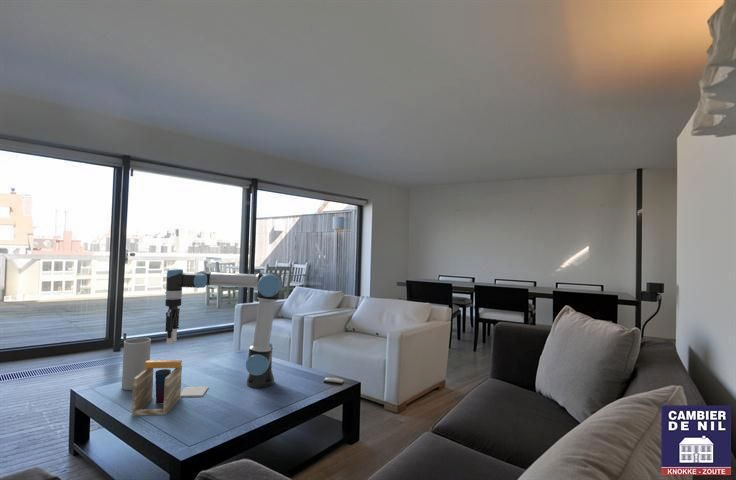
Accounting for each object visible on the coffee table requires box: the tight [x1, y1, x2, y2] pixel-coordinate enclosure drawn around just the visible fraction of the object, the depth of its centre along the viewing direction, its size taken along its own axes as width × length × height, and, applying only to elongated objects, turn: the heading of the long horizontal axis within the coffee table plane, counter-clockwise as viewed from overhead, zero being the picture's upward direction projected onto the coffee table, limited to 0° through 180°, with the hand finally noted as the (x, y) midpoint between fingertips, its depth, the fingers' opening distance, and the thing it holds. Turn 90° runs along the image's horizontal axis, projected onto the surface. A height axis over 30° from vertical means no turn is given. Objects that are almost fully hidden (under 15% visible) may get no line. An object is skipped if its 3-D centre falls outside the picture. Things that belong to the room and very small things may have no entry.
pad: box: [180, 386, 209, 398], centre depth 202 cm, size 12×12×1 cm
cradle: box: [131, 364, 183, 416], centre depth 184 cm, size 15×19×17 cm
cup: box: [154, 368, 172, 404], centre depth 189 cm, size 7×7×15 cm
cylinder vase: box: [121, 337, 152, 391], centre depth 207 cm, size 12×12×25 cm
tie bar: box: [145, 359, 182, 369], centre depth 189 cm, size 16×3×3 cm, turn 99°
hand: (171, 342), depth 199 cm, fingers open, 5 cm apart
